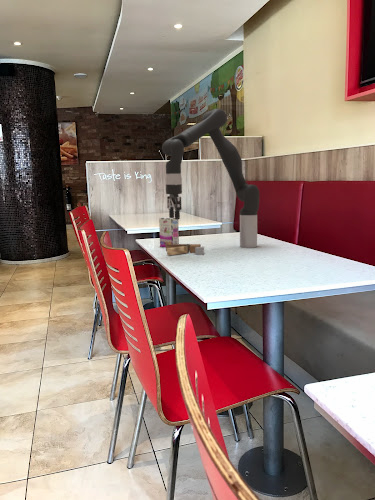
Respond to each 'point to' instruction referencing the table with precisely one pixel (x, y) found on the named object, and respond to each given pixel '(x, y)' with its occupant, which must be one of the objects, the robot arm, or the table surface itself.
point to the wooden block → (190, 246)
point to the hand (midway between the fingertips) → (174, 218)
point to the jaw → (177, 250)
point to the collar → (199, 251)
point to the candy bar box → (168, 231)
